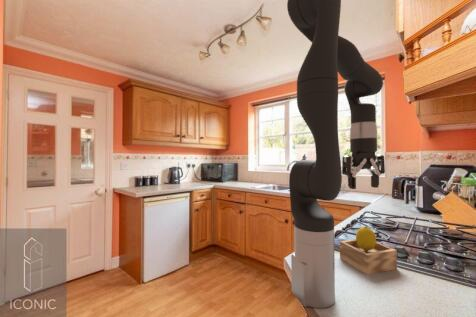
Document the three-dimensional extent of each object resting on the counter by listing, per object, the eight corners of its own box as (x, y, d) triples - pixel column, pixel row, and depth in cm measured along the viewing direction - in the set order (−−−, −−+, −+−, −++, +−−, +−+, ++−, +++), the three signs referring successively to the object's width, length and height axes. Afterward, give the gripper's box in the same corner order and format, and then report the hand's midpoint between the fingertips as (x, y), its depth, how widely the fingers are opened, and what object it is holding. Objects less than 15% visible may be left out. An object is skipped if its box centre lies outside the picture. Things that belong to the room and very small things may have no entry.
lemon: (379, 255, 69) (378, 229, 69) (359, 254, 70) (359, 228, 70) (372, 248, 74) (371, 224, 74) (353, 247, 75) (353, 223, 75)
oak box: (367, 276, 65) (367, 255, 65) (339, 259, 76) (339, 241, 75) (396, 269, 68) (396, 250, 68) (366, 254, 79) (366, 237, 79)
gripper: (352, 136, 67) (353, 191, 68) (391, 136, 71) (392, 188, 71) (336, 138, 75) (336, 187, 75) (372, 138, 78) (372, 185, 78)
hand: (363, 188), depth 73 cm, fingers open, 8 cm apart
